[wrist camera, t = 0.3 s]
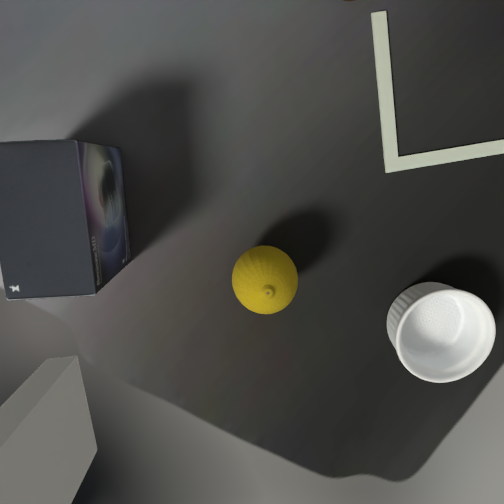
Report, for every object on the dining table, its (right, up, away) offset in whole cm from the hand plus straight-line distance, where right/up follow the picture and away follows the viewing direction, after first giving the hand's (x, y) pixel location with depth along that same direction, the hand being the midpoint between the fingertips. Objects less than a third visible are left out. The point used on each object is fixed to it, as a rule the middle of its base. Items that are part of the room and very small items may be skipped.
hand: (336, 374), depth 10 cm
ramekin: (+15, -3, +30) cm, 33 cm away
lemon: (-1, +2, +28) cm, 28 cm away
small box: (-16, +7, +26) cm, 32 cm away
